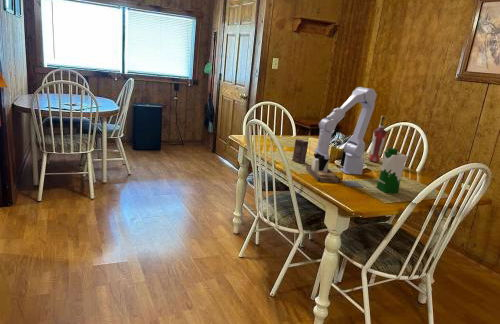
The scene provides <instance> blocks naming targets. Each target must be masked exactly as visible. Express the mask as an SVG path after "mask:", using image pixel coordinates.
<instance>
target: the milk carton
mask: <svg viewBox="0 0 500 324" xmlns="http://www.w3.org/2000/svg"><path fill="white" fill-rule="evenodd" d="M382 155H383V158H382V159H383V161H382V164H381V169H380V174H379V177H378V181H377V183H376V184H377V185H376V186H375V187H376V189H378V190H380V191H381V192H382V193H384V194H399V190H400V184H401V179H402V175H403V171H404V167H405V164H406V162H407V160H408V158H409V155H406V154H403V153H401V152H399V151H398V149H397V148H395V147H394V148H393V147H388V149H387V151H386V150H383V154H382Z"/></svg>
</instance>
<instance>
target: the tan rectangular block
mask: <svg viewBox="0 0 500 324" xmlns="http://www.w3.org/2000/svg"><path fill="white" fill-rule="evenodd" d="M333 173H334V172H333ZM333 173H326V172H317V175H318V176H320V177H330V178H336V175H337V174H336V173H334V174H333Z"/></svg>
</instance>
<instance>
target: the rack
mask: <svg viewBox="0 0 500 324" xmlns="http://www.w3.org/2000/svg"><path fill="white" fill-rule="evenodd" d="M311 168H312V165H306V167H305V169H306V172H307V173H308V174H309V175H311V176H312V177H313V178H314V179H315V180H316V181H317V182H321V183H322V182H323V183H334V184H335V183H339V184H340V183H341V181H342V180H341V177H339V176H338V175H337V174H335V173H334V172H333V171H332V170H331V169H330V168H328V170H327V173H333V174H335V175H336V178H330V177H320V176H318V175H317V174H316V173H315V172H314V171H313V170H312V169H311Z"/></svg>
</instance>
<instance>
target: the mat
mask: <svg viewBox="0 0 500 324" xmlns="http://www.w3.org/2000/svg"><path fill="white" fill-rule="evenodd" d="M340 183H342V184H343V185H344V186H346V187H347V188H349V187H350V188H364V186H363V185H362V184H361V183H359V182H358V181H353V180H352V181H351V180H340Z"/></svg>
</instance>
